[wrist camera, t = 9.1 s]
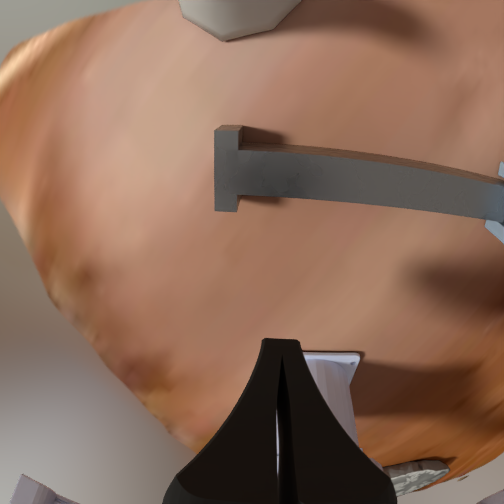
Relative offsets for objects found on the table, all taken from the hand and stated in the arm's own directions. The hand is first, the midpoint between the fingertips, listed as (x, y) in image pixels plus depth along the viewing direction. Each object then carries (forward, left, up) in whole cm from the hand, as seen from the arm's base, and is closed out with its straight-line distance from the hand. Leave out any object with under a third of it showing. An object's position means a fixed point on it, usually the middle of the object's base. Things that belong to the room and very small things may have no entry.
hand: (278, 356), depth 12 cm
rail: (+5, -9, -10) cm, 14 cm away
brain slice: (-47, -27, -10) cm, 55 cm away
